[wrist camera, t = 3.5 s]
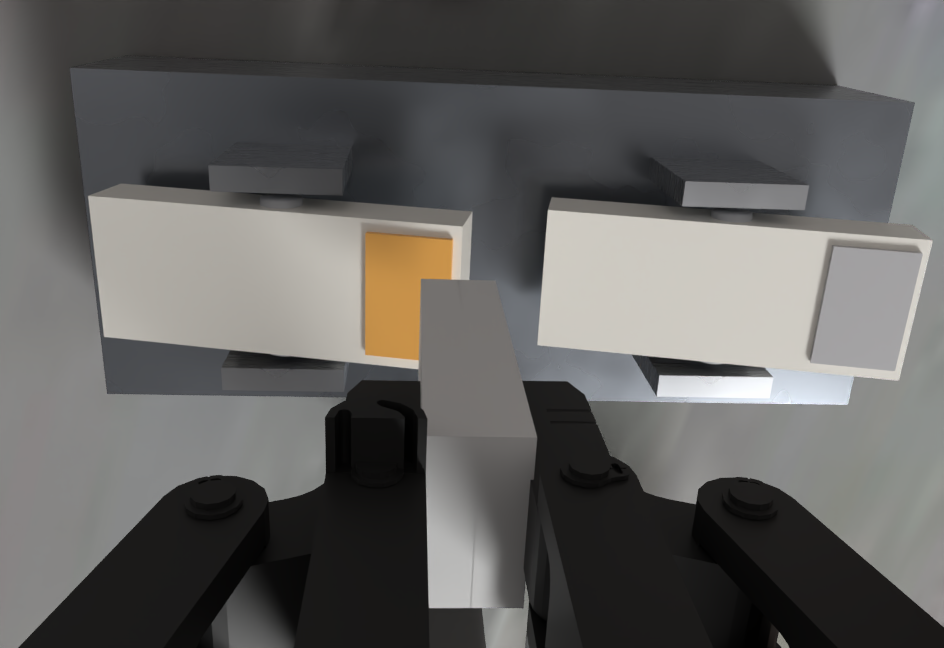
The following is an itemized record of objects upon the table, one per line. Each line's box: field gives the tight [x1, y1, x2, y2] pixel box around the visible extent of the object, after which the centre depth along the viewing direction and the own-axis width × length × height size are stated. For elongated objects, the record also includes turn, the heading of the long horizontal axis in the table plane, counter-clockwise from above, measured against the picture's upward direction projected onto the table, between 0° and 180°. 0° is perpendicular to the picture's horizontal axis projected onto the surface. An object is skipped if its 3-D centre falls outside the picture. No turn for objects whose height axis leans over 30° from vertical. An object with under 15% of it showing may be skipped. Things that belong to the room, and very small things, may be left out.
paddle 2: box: [537, 197, 933, 381], centre depth 22 cm, size 9×4×2 cm, turn 88°
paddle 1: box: [88, 183, 472, 369], centre depth 21 cm, size 9×4×2 cm, turn 88°
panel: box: [70, 56, 915, 405], centre depth 25 cm, size 22×9×8 cm, turn 87°
